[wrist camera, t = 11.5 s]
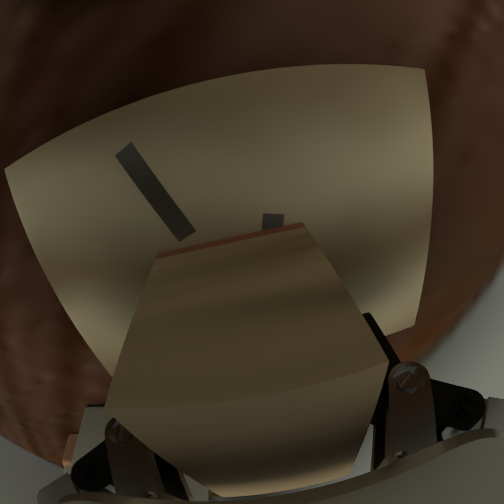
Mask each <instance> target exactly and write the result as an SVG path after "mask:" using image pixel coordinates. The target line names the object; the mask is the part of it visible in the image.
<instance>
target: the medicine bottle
mask: <svg viewBox="0 0 504 504" xmlns="http://www.w3.org/2000/svg"><path fill="white" fill-rule="evenodd" d="M112 418H113V416H112V415H111V414H110V413H109V412H108V411H107V410H106V409H105V408H104V406H101V407H87V408H86V409H85V412H84V415H83V419H82V422H81V426H80V429H79V433H78V437H77V441H76V445H75V449H74V453H73V457H72V462H71V466H70V471H69V474H71V468H72V466H73V464H74V463H75V462H76V461H77V460H79V459H80V458H81V457H83V456H84V455H85V454H87V453H88V452H89V451H91V450H92V449H93V448H95V447H96V446H97V445H99V444H100V443H101V442H103V441H104V440H105V428H106V425H107V423H108V422H109V421H110V420H111V419H112ZM183 475H184V477H185V479H186V482H187V484H188V487H189V489H190V491H191V494H192V496H193V498H194V500H195V501H208V488H206V487H204V486H203V485H201V484H199V483H198V482H196V481H195V480H193V479H192V478H190V477H188V476H187V475H185V474H184V473H183Z"/></svg>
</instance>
